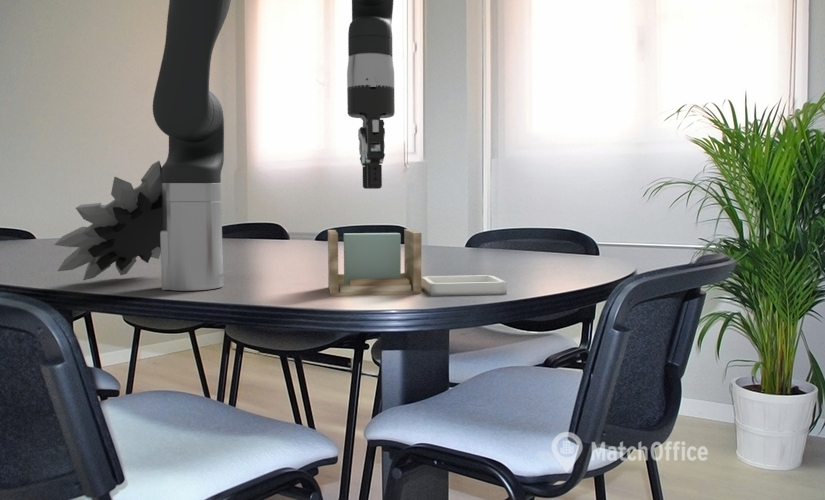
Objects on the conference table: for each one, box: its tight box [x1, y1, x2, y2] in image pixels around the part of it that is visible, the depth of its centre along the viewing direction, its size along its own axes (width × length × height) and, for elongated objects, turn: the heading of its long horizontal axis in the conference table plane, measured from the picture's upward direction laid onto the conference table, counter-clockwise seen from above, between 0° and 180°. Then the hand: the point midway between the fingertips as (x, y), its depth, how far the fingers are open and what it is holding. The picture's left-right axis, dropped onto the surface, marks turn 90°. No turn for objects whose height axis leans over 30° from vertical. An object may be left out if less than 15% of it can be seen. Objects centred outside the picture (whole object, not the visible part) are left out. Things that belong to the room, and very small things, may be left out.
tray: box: [421, 274, 508, 297], centre depth 107 cm, size 12×9×2 cm
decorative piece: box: [53, 160, 163, 281], centre depth 117 cm, size 30×4×30 cm
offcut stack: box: [339, 278, 411, 292], centre depth 105 cm, size 11×3×2 cm, turn 99°
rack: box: [327, 228, 422, 297], centre depth 108 cm, size 14×10×10 cm
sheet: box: [343, 232, 402, 284], centre depth 109 cm, size 9×3×8 cm, turn 99°
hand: (371, 188), depth 108 cm, fingers open, 8 cm apart
